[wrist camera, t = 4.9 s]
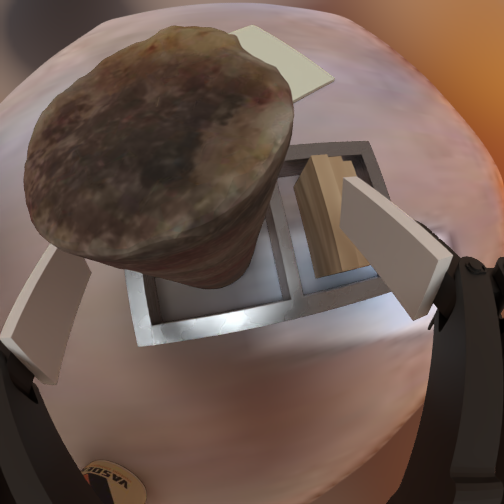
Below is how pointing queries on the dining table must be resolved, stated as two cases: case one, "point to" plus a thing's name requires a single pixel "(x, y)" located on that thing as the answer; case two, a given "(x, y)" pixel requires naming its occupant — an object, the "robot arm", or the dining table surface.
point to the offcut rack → (294, 301)
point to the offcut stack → (326, 215)
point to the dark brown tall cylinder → (163, 158)
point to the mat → (284, 61)
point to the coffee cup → (114, 483)
